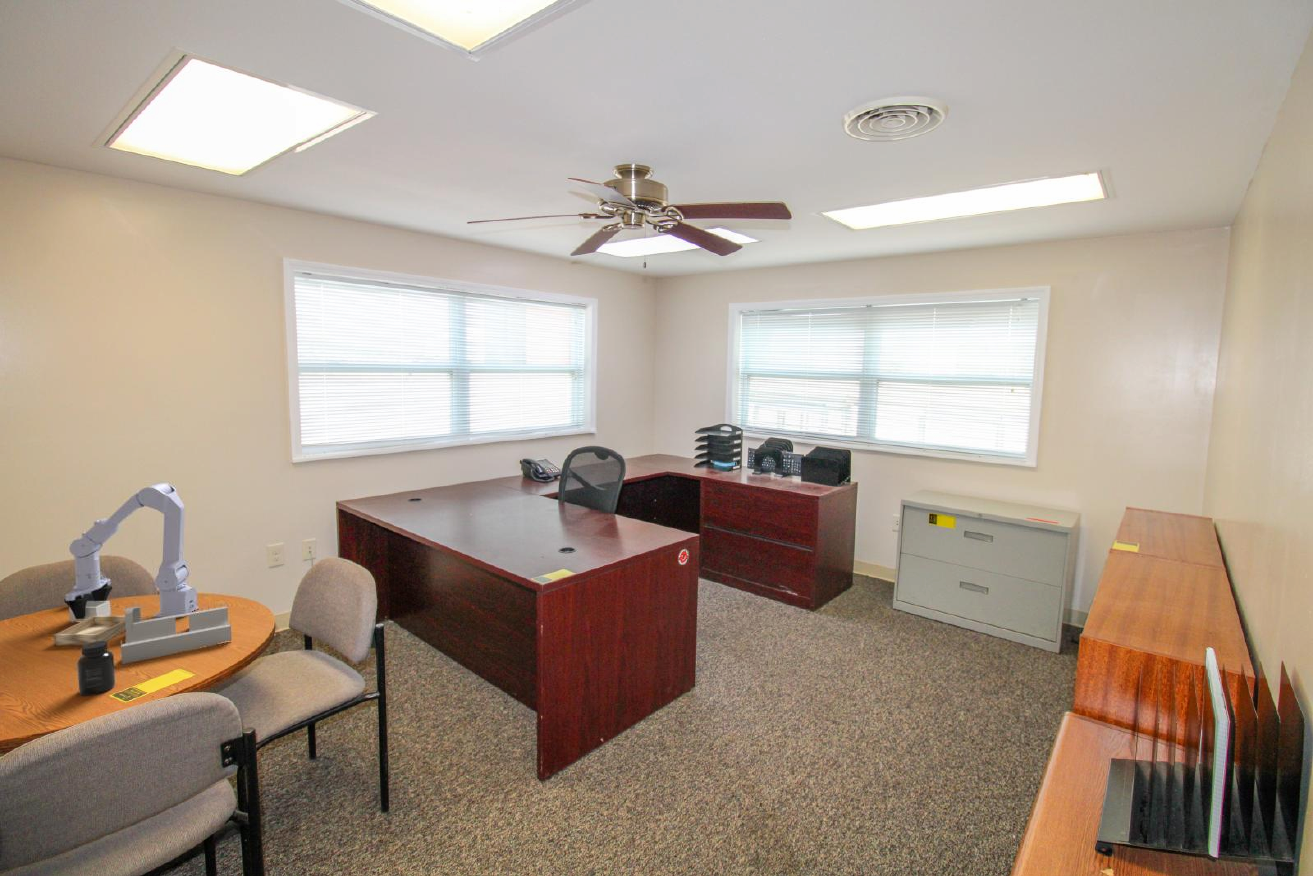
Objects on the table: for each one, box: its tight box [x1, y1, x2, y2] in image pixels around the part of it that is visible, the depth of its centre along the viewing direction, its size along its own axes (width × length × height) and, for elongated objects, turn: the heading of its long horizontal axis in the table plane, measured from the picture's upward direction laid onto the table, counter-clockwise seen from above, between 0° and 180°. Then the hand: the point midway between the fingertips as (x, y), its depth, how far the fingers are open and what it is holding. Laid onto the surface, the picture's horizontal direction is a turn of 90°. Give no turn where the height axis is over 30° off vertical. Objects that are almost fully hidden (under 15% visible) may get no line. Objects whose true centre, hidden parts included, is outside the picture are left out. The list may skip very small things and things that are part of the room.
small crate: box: [68, 600, 112, 622], centre depth 193 cm, size 8×5×5 cm
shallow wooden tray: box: [53, 615, 126, 646], centre depth 182 cm, size 12×14×3 cm
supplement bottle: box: [76, 641, 116, 696], centre depth 152 cm, size 7×7×12 cm
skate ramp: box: [120, 601, 233, 665], centre depth 182 cm, size 25×23×10 cm
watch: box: [82, 571, 108, 601], centre depth 206 cm, size 6×8×11 cm
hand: (90, 613), depth 193 cm, fingers open, 7 cm apart
